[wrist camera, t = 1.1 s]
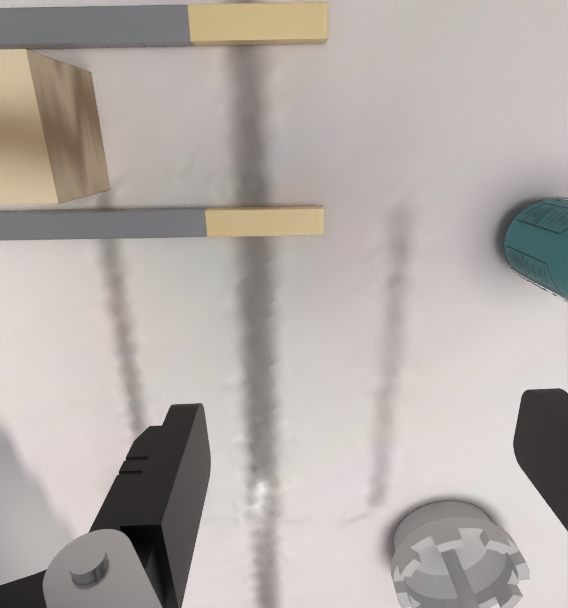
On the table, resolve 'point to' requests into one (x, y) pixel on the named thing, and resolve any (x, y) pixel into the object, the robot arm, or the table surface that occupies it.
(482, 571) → the flag stand
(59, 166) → the wooden block
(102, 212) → the rail bay
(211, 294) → the table surface
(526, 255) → the beverage bottle
